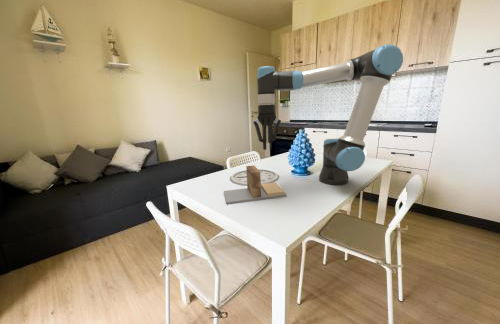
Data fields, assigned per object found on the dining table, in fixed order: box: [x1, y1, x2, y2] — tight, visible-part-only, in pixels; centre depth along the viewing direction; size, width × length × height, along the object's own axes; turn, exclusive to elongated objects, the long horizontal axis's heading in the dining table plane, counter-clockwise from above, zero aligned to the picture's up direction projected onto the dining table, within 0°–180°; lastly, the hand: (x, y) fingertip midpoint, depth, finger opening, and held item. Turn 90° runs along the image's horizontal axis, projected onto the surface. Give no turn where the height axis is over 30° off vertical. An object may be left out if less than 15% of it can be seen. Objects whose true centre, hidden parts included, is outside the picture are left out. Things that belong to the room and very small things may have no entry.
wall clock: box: [229, 168, 280, 187], centre depth 132 cm, size 30×2×30 cm
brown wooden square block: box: [245, 165, 261, 198], centre depth 104 cm, size 4×12×12 cm, turn 12°
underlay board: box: [223, 181, 288, 205], centre depth 106 cm, size 28×14×2 cm, turn 101°
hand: (267, 156), depth 103 cm, fingers closed
